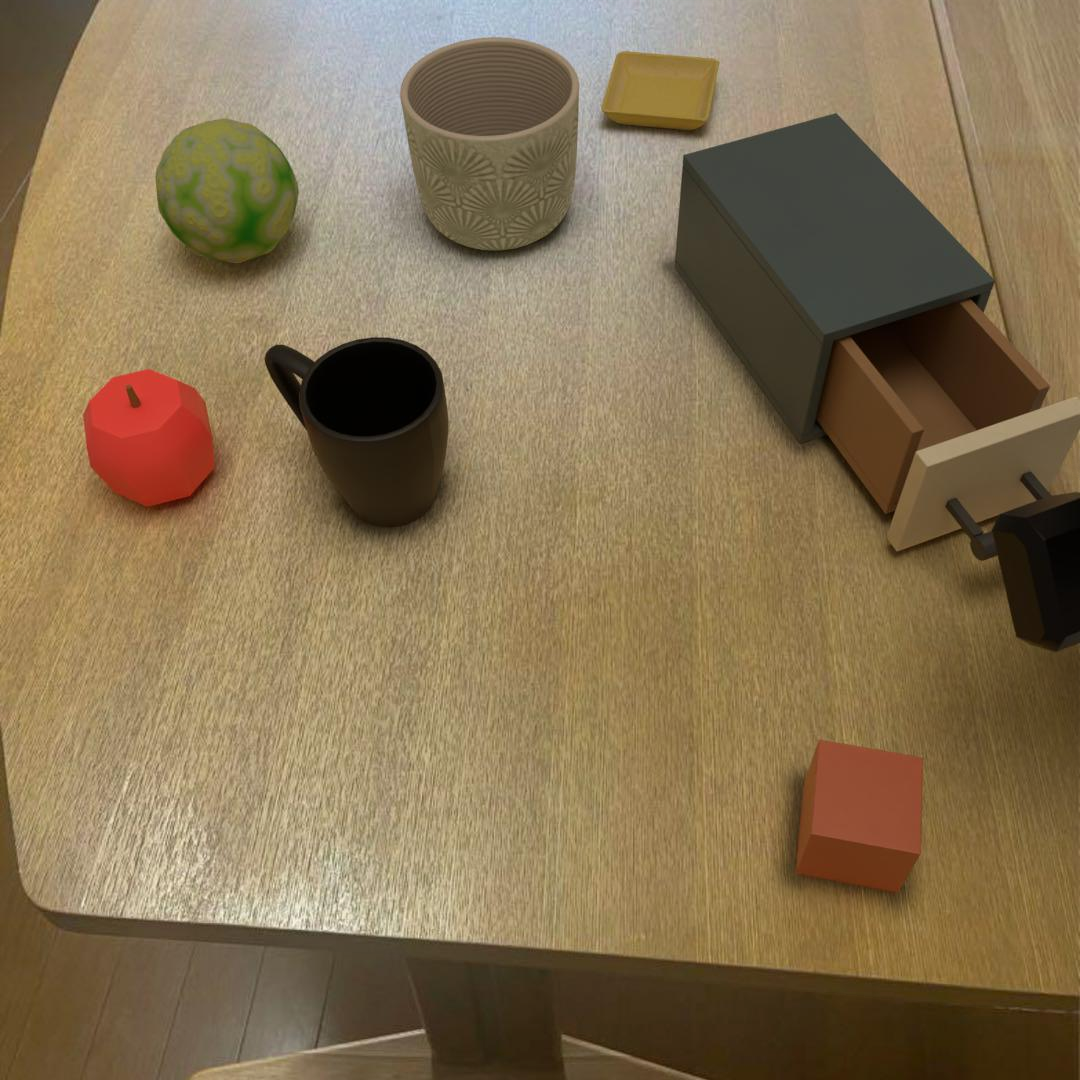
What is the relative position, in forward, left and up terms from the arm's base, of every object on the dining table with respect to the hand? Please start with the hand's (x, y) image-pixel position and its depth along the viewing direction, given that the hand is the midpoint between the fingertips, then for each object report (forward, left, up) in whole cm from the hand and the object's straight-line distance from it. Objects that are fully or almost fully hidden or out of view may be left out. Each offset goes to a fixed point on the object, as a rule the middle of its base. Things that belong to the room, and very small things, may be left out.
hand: (1069, 506), depth 62 cm
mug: (+40, -2, -9) cm, 41 cm away
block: (+9, +16, -9) cm, 20 cm away
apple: (+53, 0, -9) cm, 54 cm away
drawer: (+7, -10, -8) cm, 14 cm away
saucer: (+28, -45, -9) cm, 53 cm away
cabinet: (+14, -21, -9) cm, 26 cm away
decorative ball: (+56, -22, -9) cm, 60 cm away
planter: (+38, -29, -9) cm, 48 cm away
